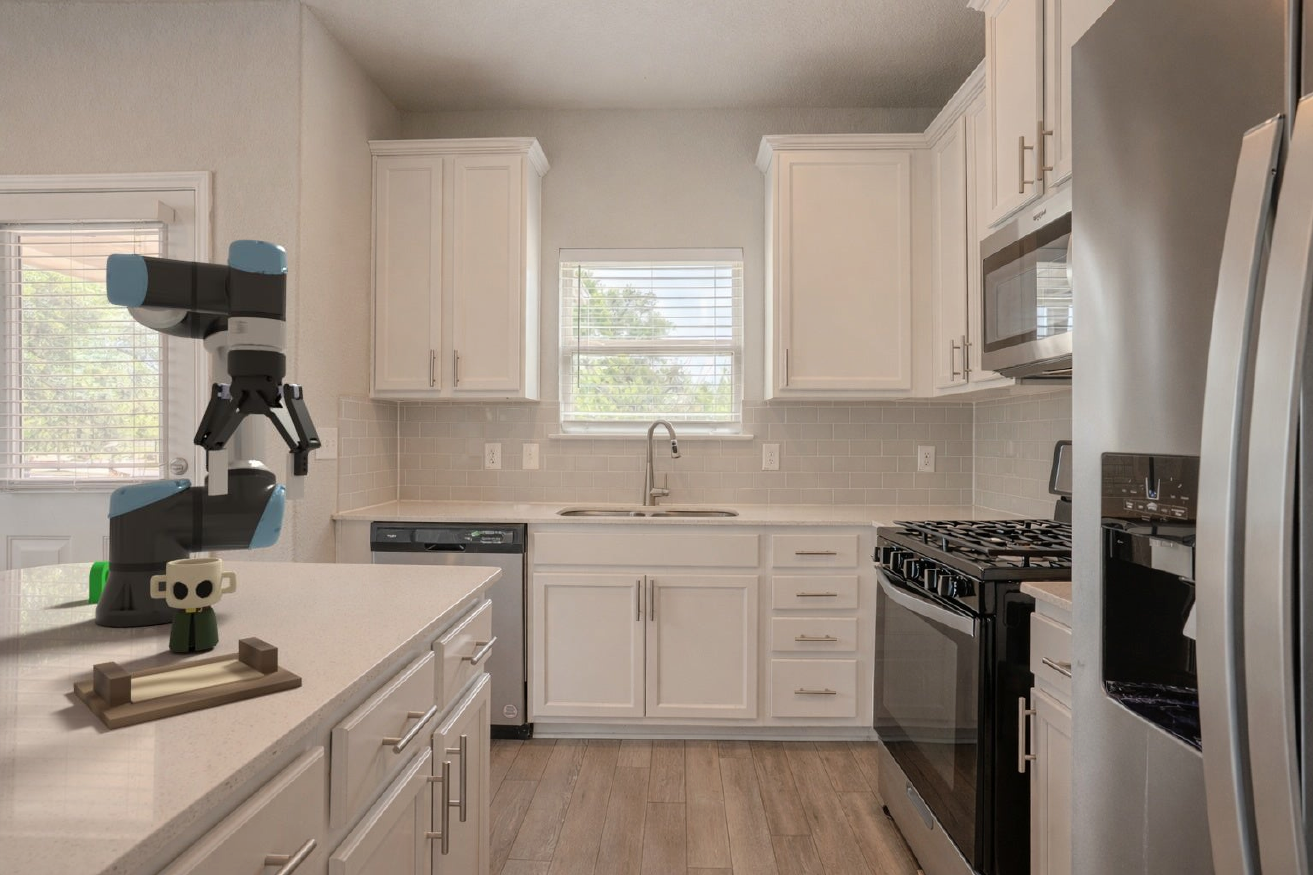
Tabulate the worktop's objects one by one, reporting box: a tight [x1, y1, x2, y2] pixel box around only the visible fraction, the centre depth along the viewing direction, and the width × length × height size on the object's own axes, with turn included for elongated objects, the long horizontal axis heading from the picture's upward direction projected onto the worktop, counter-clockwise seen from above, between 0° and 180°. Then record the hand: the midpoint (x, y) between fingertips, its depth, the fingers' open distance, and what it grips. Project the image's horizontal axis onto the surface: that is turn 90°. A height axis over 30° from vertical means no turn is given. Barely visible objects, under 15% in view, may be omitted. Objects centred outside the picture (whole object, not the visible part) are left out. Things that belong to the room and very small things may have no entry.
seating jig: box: [73, 636, 303, 730], centre depth 95 cm, size 18×20×4 cm
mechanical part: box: [88, 560, 109, 604], centre depth 148 cm, size 12×6×8 cm, turn 16°
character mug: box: [150, 557, 238, 653], centre depth 112 cm, size 11×7×13 cm, turn 116°
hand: (255, 497), depth 111 cm, fingers open, 13 cm apart
